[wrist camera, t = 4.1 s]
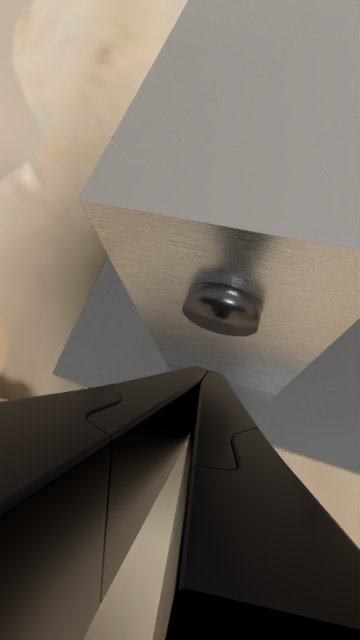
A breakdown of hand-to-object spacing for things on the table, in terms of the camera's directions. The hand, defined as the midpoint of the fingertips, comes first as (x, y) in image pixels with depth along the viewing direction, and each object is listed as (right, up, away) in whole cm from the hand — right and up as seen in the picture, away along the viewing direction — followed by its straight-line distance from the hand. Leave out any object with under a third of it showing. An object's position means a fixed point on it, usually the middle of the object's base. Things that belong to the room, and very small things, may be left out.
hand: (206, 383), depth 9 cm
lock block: (+4, +5, +10) cm, 12 cm away
